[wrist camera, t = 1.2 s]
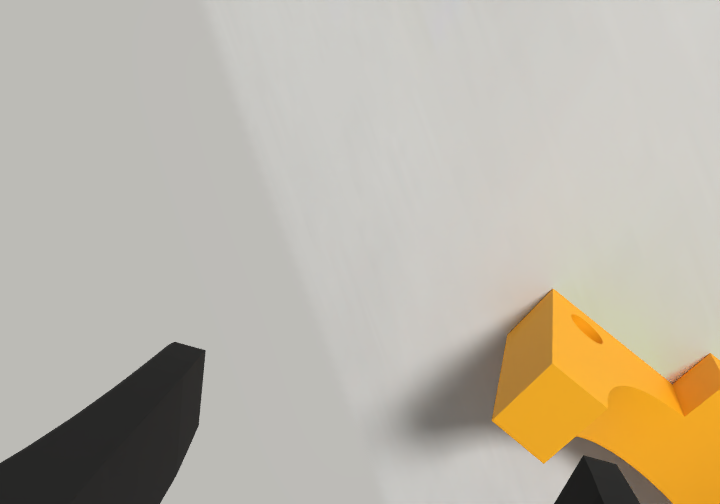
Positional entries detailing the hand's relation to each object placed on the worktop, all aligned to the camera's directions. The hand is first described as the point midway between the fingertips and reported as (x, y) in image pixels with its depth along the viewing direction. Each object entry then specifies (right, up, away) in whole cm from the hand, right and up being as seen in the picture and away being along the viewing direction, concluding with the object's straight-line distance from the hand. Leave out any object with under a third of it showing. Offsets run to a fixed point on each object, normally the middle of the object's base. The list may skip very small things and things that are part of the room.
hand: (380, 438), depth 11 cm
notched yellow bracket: (+11, -2, +11) cm, 16 cm away
